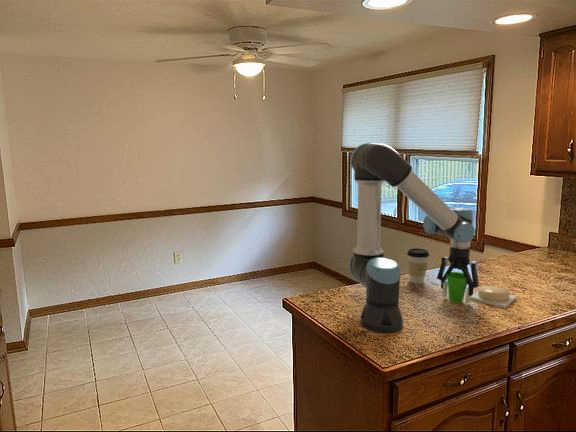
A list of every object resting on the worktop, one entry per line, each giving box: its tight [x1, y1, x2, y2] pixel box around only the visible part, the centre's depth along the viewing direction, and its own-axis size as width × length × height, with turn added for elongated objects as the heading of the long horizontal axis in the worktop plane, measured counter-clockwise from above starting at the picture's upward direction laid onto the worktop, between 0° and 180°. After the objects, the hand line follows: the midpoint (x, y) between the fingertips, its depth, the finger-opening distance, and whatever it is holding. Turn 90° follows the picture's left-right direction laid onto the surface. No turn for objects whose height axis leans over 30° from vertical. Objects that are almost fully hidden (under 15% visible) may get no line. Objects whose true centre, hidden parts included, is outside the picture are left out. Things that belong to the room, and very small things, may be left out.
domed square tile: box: [470, 285, 517, 309], centre depth 185 cm, size 14×14×4 cm
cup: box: [446, 271, 468, 304], centre depth 182 cm, size 9×9×11 cm
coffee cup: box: [406, 248, 430, 285], centre depth 207 cm, size 10×10×15 cm
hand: (456, 299), depth 183 cm, fingers closed on cup, 9 cm apart
